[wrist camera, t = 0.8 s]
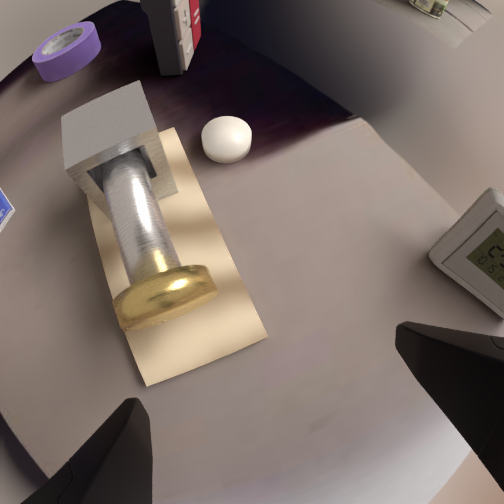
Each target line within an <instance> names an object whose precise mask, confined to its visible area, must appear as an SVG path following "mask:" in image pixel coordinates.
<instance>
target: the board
mask: <svg viewBox="0 0 504 504" xmlns="http://www.w3.org/2000/svg"><path fill="white" fill-rule="evenodd" d="M158 134H159V137H160V140H161V143H162V146H163V149H164V152H165V155H166V158H167V160H168V163H169V166H170V169H171V172H172V175H173V178H174V180H175V183H176V186H177V189H178V193H176V194H173V195H171V196H168V197H166V198H164V199H161V200H159V201H158V204H159V206H160V209H161V212H162V215H163V218H164V220H165V223H166V226H167V229H168V231H169V234H170V237H171V239H172V242H173V245H174V247H175V250H176V252H177V255H178V257H179V260H180V263H181V265H182V266H187V265H204V266H206V267H208V269H209V271H210V274H211V276H212V278H213V280H214V283H215V285H216V287H217V290H218V294H217V296H216V297H214V298H213V299H212V300H211V301H209V302H208V303H206V304H204V305H202V306H201V307H199V308H197V309H195V310H193V311H191V312H189V313H187V314H184V315H182V316H180V317H177V318H175V319H172V320H170V321H167V322H164V323H161V324H158V325H155V326H151V327H148V328H144V329H139V330H133V331H124V332H125V335H126V338H127V340H128V343H129V346H130V348H131V351H132V353H133V356H134V358H135V361H136V363H137V365H138V368H139V370H140V372H141V375H142V377H143V379H144V382H145V384H146V386H150V385H152V384H155V383H158V382H161V381H163V380H166V379H169V378H171V377H174V376H177V375H179V374H182V373H184V372H187V371H190V370H192V369H195V368H197V367H200V366H202V365H205V364H207V363H209V362H212V361H214V360H217V359H219V358H221V357H224V356H226V355H228V354H231V353H233V352H235V351H238V350H240V349H242V348H244V347H247V346H249V345H251V344H253V343H256V342H258V341H260V340H262V339H264V338H266V337H268V335H267V333H266V331H265V329H264V327H263V325H262V323H261V320H260V318H259V316H258V314H257V312H256V310H255V308H254V305H253V303H252V301H251V299H250V297H249V295H248V293H247V290H246V288H245V286H244V284H243V282H242V280H241V277H240V275H239V273H238V271H237V269H236V267H235V264H234V262H233V260H232V258H231V256H230V253H229V251H228V249H227V247H226V245H225V242H224V240H223V238H222V236H221V233H220V231H219V229H218V227H217V225H216V222H215V220H214V218H213V216H212V213H211V211H210V209H209V207H208V204H207V202H206V200H205V198H204V195H203V193H202V191H201V189H200V186H199V184H198V182H197V179H196V177H195V175H194V173H193V170H192V168H191V166H190V163H189V161H188V159H187V156H186V154H185V152H184V149H183V147H182V145H181V142H180V140H179V138H178V135H177V133H176V131H175V128H174V127H173V128H170V129H168V130H165V131H163V132H160V133H158ZM87 200H88V205H89V210H90V215H91V220H92V224H93V229H94V233H95V237H96V241H97V245H98V249H99V253H100V257H101V261H102V264H103V268H104V271H105V275H106V278H107V282H108V285H109V288H110V291H111V295H112V298H113V300H114V298H115V297H116V296H117V295H118V294H119V293H120V292H122V291H123V290H124V289H126V288H127V287H129V286H130V283H129V280H128V277H127V273H126V270H125V267H124V264H123V261H122V257H121V254H120V251H119V247H118V244H117V240H116V237H115V233H114V230H113V226H112V222H111V221H110V220H109V219H108V218H107V217H106V215H105V214H104V213H103V212H102V211H101V210H100V209H99V208H98V207H97V206H96V205H95V204H94V203H93V201H92V200H91V199H90V198H89V197H88V196H87Z"/></svg>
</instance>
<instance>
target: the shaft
mask: <svg viewBox="0 0 504 504" xmlns="http://www.w3.org/2000/svg"><path fill="white" fill-rule="evenodd" d="M99 170H100V175H101V180H102V185H103V189H104V194H105V198H106V202H107V206H108V210H109V214H110V218H111V222H112V226H113V230H114V233H115V237H116V240H117V244H118V247H119V251H120V254H121V257H122V261H123V264H124V267H125V270H126V273H127V277H128V280H129V283H130V286H129V287H127V288H126V289H124V290H123V291H122V292H120V293H119V294H118V295H117V296H116V297H115V298H114V300H113V302H112V304H113V307H114V310H115V313H116V316H117V319H118V322H119V325H120V327H121V330H123V331H133V330H139V329H144V328H148V327H151V326H155V325H158V324H161V323H164V322H167V321H170V320H172V319H175V318H177V317H180V316H182V315H184V314H187V313H189V312H191V311H193V310H195V309H197V308H199V307H201V306H202V305H204V304H206V303H208V302H209V301H211V300H212V299H213V298H214V297H216V296H217V294H218V290H217V287H216V285H215V283H214V280H213V278H212V276H211V274H210V271H209V269H208V267H206V266H204V265H187V266H182V265H181V263H180V260H179V257H178V255H177V252H176V250H175V247H174V245H173V242H172V239H171V237H170V234H169V231H168V229H167V226H166V223H165V220H164V218H163V215H162V212H161V209H160V206H159V204H158V201H157V198H156V195H155V192H154V189H153V186H152V183H151V180H150V177H149V174H148V171H147V168H146V165H145V162H144V159H143V156H142V153H141V149H140V146H139V147H137V148H134V149H132V150H130V151H128V152H125V153H123V154H121V155H119V156H117V157H114V158H112V159H110V160H108V161H106V162H104V163H102V164H100V165H99Z"/></svg>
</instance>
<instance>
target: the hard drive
mask: <svg viewBox="0 0 504 504" xmlns="http://www.w3.org/2000/svg"><path fill="white" fill-rule="evenodd" d="M14 212H15V209H14V208H13V206H12V205H11V203H10V202H9V200H8V199H7V197H6V196H5V194H4V193H3V191H2V190H1V188H0V232H1V231H2V229H3V228H4V226H5V225H6V223H7V222H8V220H9V219H10V217H11V216H12V215H13V213H14Z"/></svg>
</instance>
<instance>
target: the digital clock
mask: <svg viewBox="0 0 504 504" xmlns="http://www.w3.org/2000/svg"><path fill="white" fill-rule="evenodd" d="M429 258H430V260H431V261H432V262H433V263H434V264H435V265H436V266H437V267H438V268H439V269H440V270H442V271H443V272H444V273H446V274H447V275H448V276H450V277H451V278H452V279H454V280H455V281H456V282H458V283H459V284H460V285H462V286H463V287H464V288H465V289H467V290H468V291H469V292H471V293H472V294H473V295H474V296H476V297H477V298H478V299H480V300H481V301H482V302H483V303H485V304H486V305H487V306H488V307H489V308H491V309H492V310H493V311H494V312H496V313H497V314H498V315H499V316H501V317H502V318H503V319H504V195H503V194H502V193H501V192H500V191H499V190H498V189H496V188H493V187H490V188H488V189H487V190H486V191H485V192H484V193H483V194H482V195H481V196H480V197H479V198H478V199H477V200H476V201H475V203H474V204H473V205H472V206H471V207H470V208H469V209H468V210H467V211H466V213H464V215H463V216H462V217H461V218H460V219H459V220H458V221H457V222H456V223H455V224H454V225H453V226H452V227H451V228H450V229H449V230H448V231H447V232H446V233H445V234H444V235H443V236H442V237H441V238H440V239H439V240H438V241H437V242H436V243H435V244H434V245H433V246H432V248H431V250H430V251H429Z"/></svg>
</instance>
